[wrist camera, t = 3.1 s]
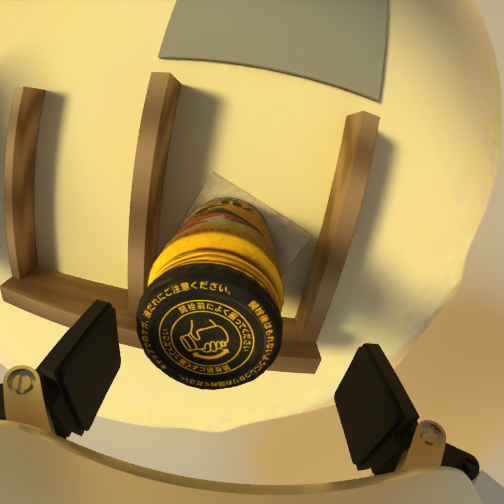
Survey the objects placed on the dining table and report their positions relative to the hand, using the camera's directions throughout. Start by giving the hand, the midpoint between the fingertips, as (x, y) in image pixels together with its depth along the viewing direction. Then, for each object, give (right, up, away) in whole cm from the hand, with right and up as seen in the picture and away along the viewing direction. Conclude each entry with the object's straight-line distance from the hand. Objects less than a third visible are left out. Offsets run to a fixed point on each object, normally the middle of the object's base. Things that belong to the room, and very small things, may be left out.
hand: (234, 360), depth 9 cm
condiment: (0, +5, +11) cm, 12 cm away
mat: (+3, +24, +3) cm, 24 cm away
